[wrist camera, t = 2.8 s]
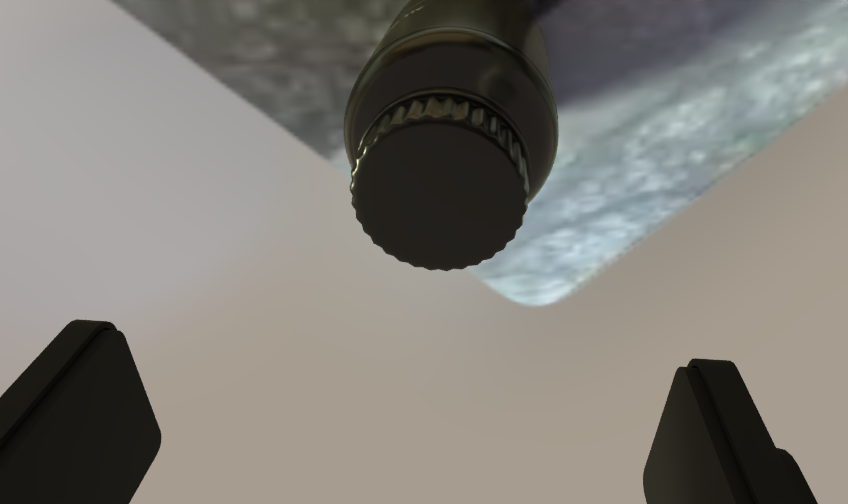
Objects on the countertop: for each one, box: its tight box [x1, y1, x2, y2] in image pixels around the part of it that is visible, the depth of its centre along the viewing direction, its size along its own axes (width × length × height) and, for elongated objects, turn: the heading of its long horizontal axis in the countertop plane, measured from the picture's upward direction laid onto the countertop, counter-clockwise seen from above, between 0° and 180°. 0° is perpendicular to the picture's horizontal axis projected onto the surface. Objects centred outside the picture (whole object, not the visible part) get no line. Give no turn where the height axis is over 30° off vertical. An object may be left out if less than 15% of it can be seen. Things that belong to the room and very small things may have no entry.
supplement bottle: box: [344, 0, 558, 271], centre depth 20 cm, size 7×7×12 cm
